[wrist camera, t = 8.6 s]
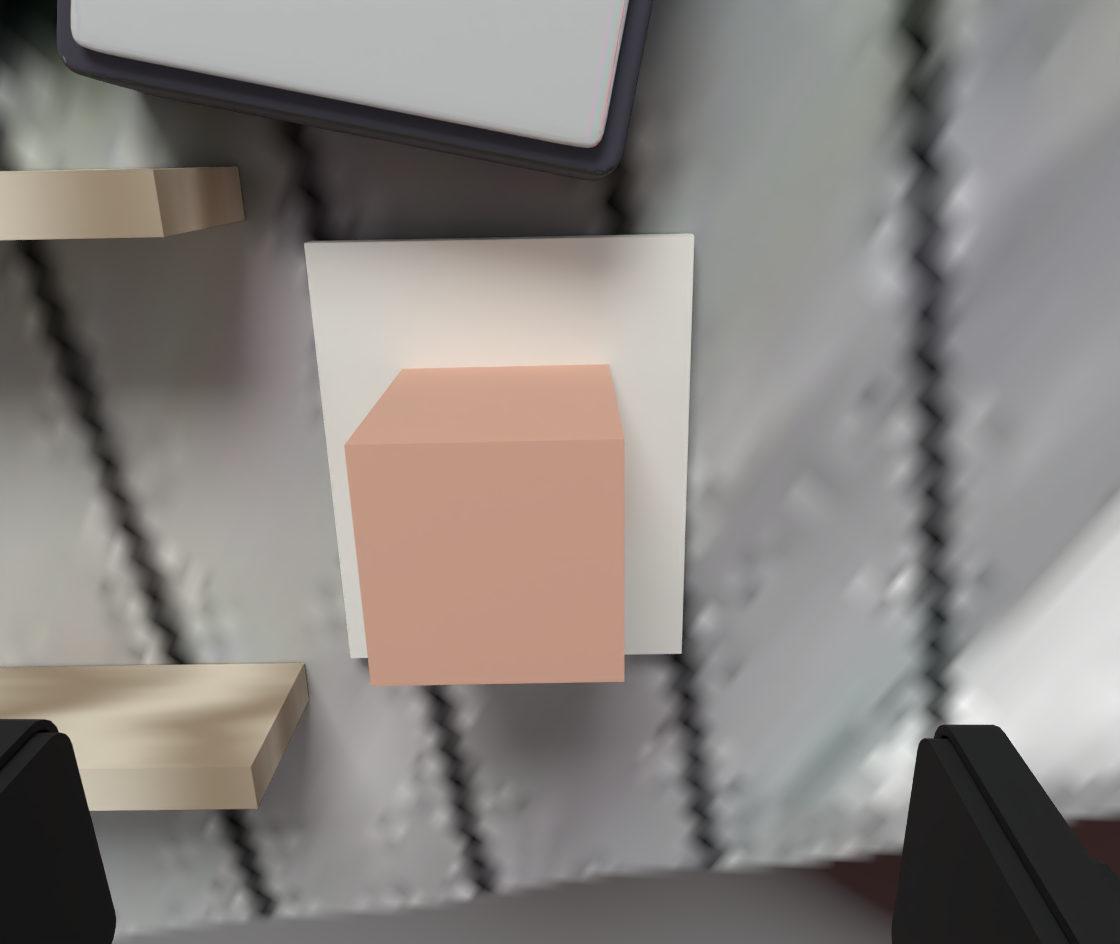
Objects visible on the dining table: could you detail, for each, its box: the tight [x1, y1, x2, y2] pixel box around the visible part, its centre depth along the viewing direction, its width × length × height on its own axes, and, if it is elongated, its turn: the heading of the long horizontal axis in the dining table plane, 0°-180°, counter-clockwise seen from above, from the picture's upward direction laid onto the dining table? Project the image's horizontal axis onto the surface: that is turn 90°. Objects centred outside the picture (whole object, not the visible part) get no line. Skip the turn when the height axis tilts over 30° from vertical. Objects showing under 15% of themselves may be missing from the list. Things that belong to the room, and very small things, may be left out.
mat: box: [304, 234, 694, 658], centre depth 23 cm, size 9×11×1 cm
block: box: [344, 364, 624, 686], centre depth 20 cm, size 5×5×6 cm
